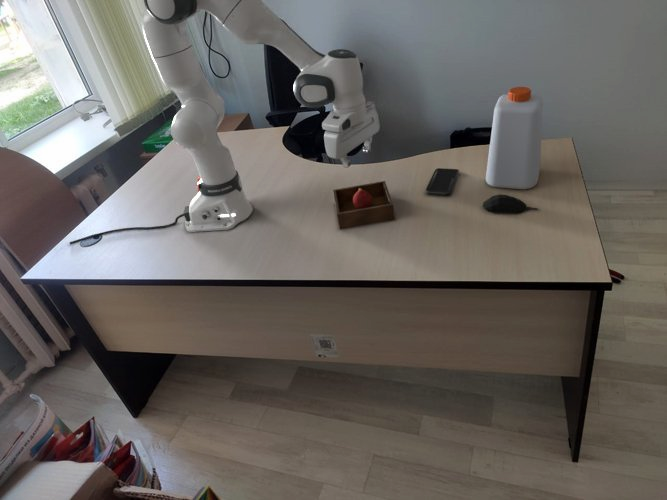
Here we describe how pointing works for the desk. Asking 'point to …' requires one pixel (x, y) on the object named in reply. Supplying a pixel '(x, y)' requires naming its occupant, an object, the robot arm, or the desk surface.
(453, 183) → the phone
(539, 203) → the desk surface
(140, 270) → the desk surface
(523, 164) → the plastic bottle
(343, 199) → the wooden box
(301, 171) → the desk surface
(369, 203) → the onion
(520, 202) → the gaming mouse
